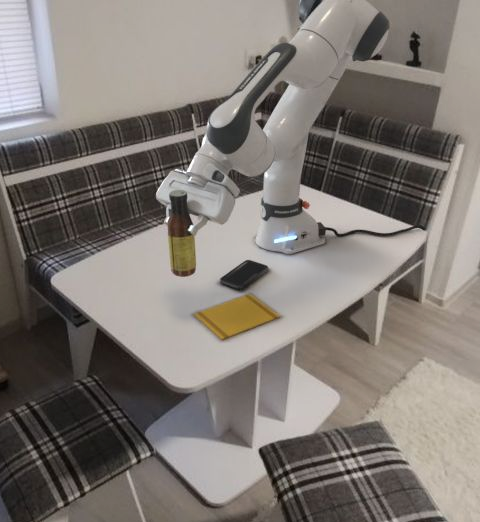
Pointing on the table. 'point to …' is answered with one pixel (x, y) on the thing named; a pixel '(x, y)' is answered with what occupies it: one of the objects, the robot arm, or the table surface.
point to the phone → (244, 275)
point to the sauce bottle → (180, 236)
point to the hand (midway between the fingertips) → (179, 229)
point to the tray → (236, 316)
